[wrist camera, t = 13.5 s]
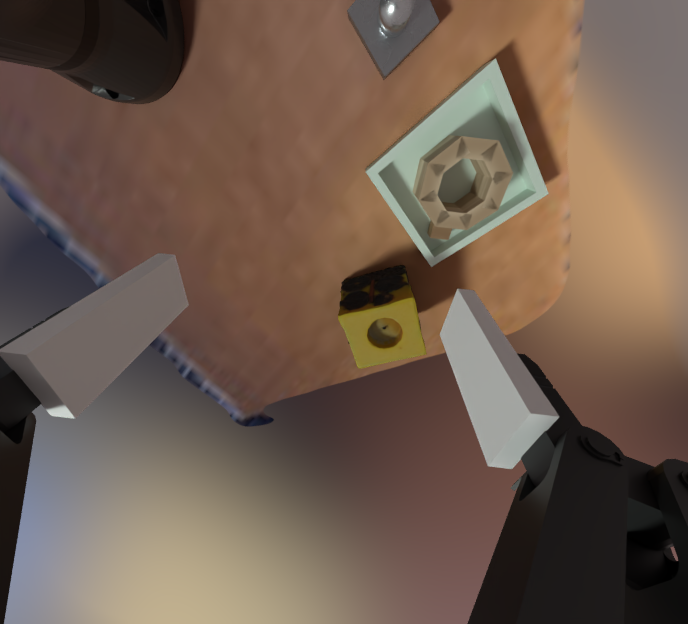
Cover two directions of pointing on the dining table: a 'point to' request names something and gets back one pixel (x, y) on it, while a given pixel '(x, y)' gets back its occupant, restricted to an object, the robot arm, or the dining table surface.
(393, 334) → the yellow cube with holes
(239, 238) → the dining table surface
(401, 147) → the tray
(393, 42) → the grey peg stand
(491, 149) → the ring
